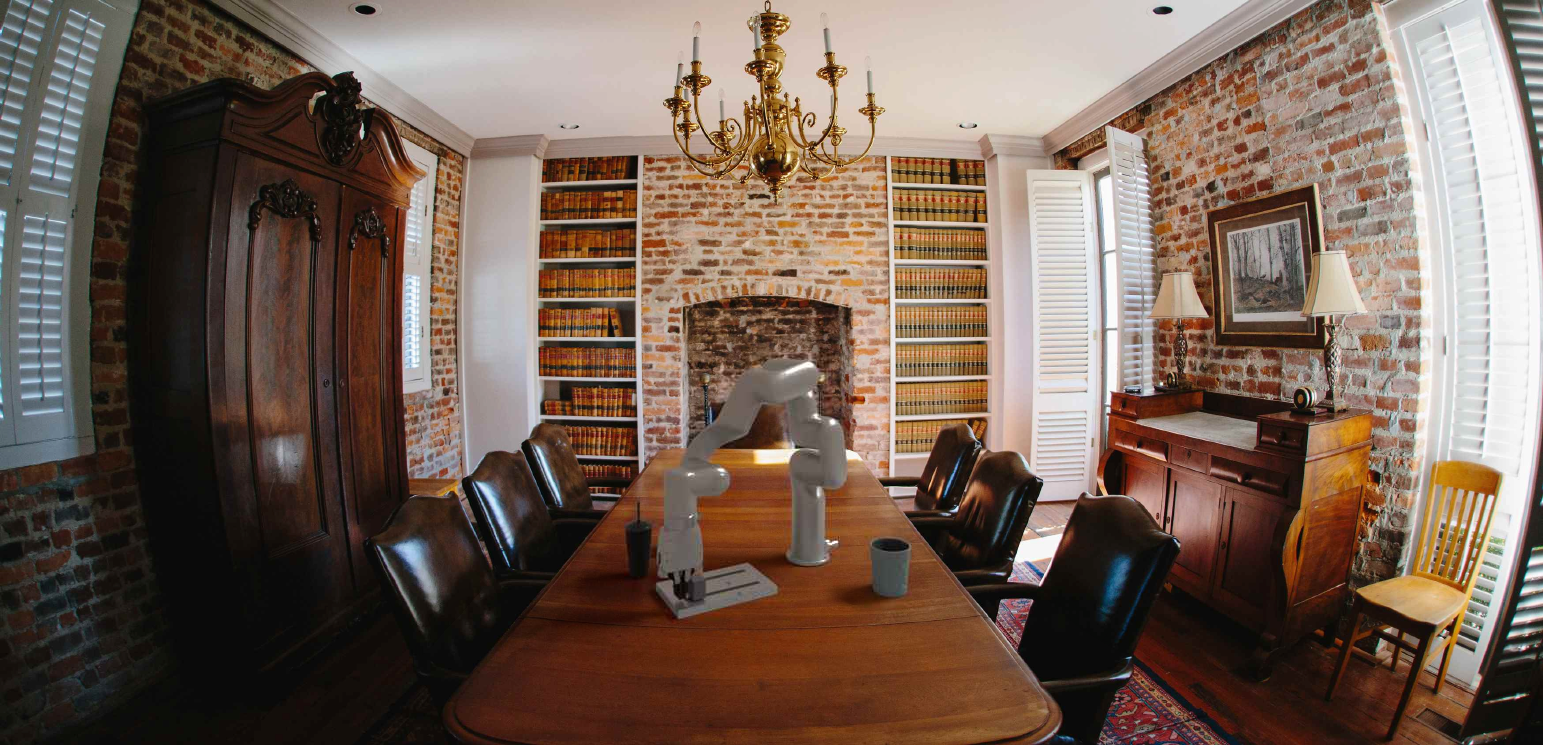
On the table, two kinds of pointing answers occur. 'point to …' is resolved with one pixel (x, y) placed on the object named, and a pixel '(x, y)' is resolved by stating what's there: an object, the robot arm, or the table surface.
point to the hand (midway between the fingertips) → (680, 597)
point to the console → (720, 590)
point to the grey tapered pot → (890, 566)
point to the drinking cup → (638, 545)
